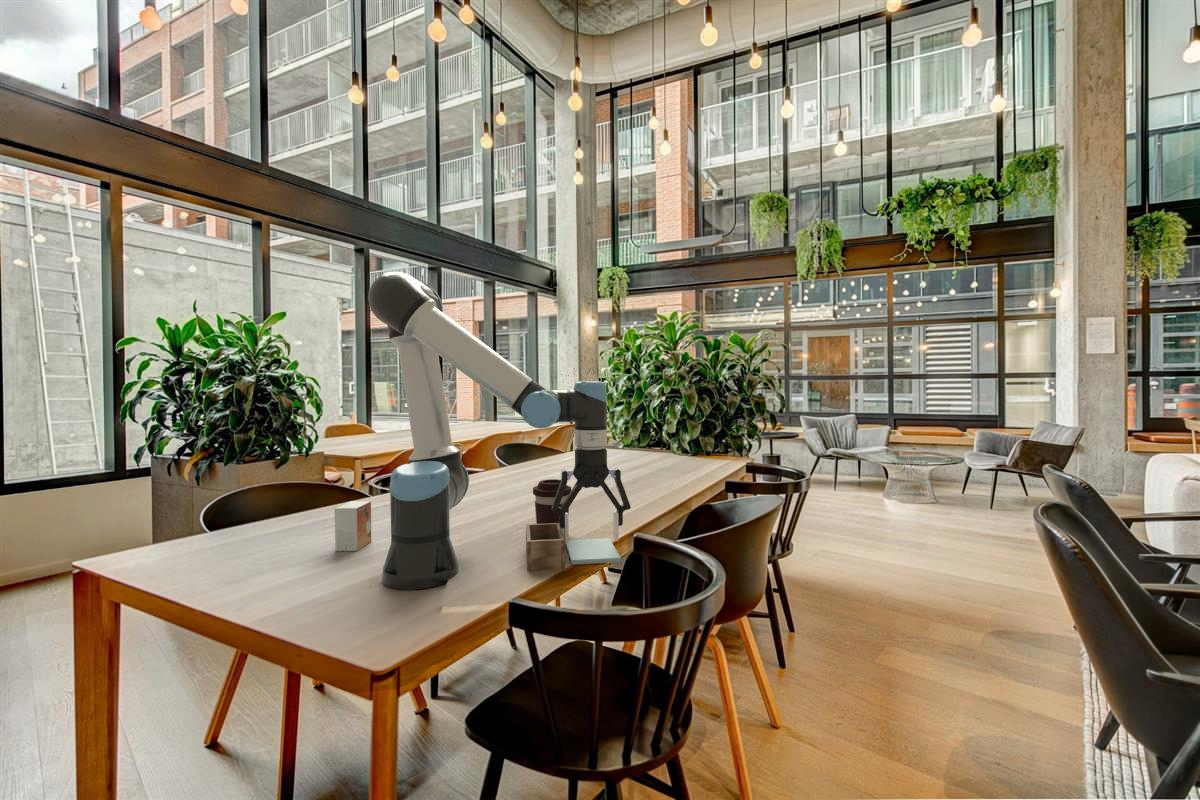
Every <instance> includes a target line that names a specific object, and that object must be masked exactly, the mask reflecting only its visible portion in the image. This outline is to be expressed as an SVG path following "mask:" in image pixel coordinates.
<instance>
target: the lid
mask: <svg viewBox="0 0 1200 800" xmlns="http://www.w3.org/2000/svg"><path fill="white" fill-rule="evenodd" d="M565 549H566V551H567V554H568V557H569V561H570V564H571V565H589V564H591V565H592V564H606V563H608V564H609V563H621V562H622V561H621V560H622V558H621V555H620V554H619V552H618V550H617V549H616V546H614V544H613V542H612V541H611V539H610V538H609V537H607V538H604V537H603V538H587V539H585V538H582V539H569V543H566V544H565Z"/></svg>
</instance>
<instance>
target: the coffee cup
mask: <svg viewBox="0 0 1200 800" xmlns="http://www.w3.org/2000/svg"><path fill="white" fill-rule="evenodd" d="M560 482H561V479H554V478H553V479H552V478H551V479H550V478H549V479H543V480H540V481H538V484H537V485H536V486H534V487H533V488H532V495H533V496H534V497H535V502H534V507H535V509H534V511H535V522H536V523H535V524H546V523H559V514H558V513H554V512H553V511H552V505H553V502H554V499H555V496H556V493H557V490H558V487H559V485H560ZM571 490H572V487H571V486H570V485H566V488H565V490H564V493H563V496H562V499H561V502H560V505H559V507H561V506H562V504H563V503H564V501H565V500H566V498H567V497H568V495H569V493H570V492H571ZM569 510H570V507H569V508H568V510H567V511H566V513H568V516H569V512H570V511H569ZM561 529H562V533H563V536H564V528H561Z"/></svg>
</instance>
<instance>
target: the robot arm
mask: <svg viewBox="0 0 1200 800" xmlns="http://www.w3.org/2000/svg"><path fill="white" fill-rule="evenodd" d="M367 298H368V304H369V308H370V310H371V312H372V314H373V315H374V317H376V318H377V319H378V320H379V321H380V322H382V323H383V324H385V325H387V332H388V337H389V342H390V343H392V344H393V345H394V346H396V348H397V349H398V354H399V355H398V356H399V362H400V368H401V375H402V380H403V381H402V383H403V389H404V393H405V401H406V406H407V407H406V408H407V412H408V420H409V426H410V432H411V438H412V444H413V445H412V446H413V451H412V453H411V454H410V456H409V457H408V463H403V464H401V465H399V466H397V467H396V468H394V470H392V472H391V475H390V482H389V497H390V498H389V499H390V503H389V504H390V534H391V535H390V536H391V537H390V546H389V549H388V551H387V552H388V553H387V555H386V558H385V561H384V564H383V567H382V573H381V574H382V584H384V585H385V586H387V587H388V588H392V589H396V590H405V591H407V590H410V591H411V590H422V589H423V590H424V589H429V588H433V587H439V586H441V585H444V584H447V583H448V581H449V580H450V579H453V578H454V577H455V576H456V575H457V574H458V572H459V561H458V558H457V555H456V551H455V549H454V546H453V543H452V541H451V540H452V539H451V536H450V535H451V534H450V510H452V508H454V507H456V506H457V505H459V503H460V502H462V500H463V499H464V497H465V496H466V494H467V491H468V489H469V485H470V477H469V473H468V470H467V468H466V467H465V465H464V464H463V461H462V457H461V451H460V448H458V447H457V446H455V445H454V444H453V442H452V434H451V428H450V422H449V414H448V409H447V402H446V396H445V395H446V394H445V389H444V383H443V378H442V376H443V375H442V370H441V364H440V357H441V358H442V359H444V361H446V362H448V363H449V364H450V365H451V366H453V367H455V368H456V370H458V371H460V372H461V373H462V374H464V375H465V376H467V377H468V378H469V379H471V380H472V381H473V382H475V383H476V384H477V385H479V386H480V387H482V388H483V389H484V390H486V391H487V392H488V393H489V394H491V395H493V396H494V397H496V398H497V399H498V400H500V402H502V403H504V404H505V405H506V406H507V407H509V408H511V409H512V410H513V411H514V412H515V413H517V415H520V417H522V419H523V421H525V423H526V424H528V425H529V426H531V427H532V428H535V429H546V428H550V427H551V426H553V425H554V424H556V423H574V446H575V447H576V448H575V449H574V468H573V469H571V470H566V469H562V470H561V472H560V473H561V477H560V478H561V479H560V480H561V482H560V485H559V487H558V490H557V493H556V496H555V499H554V502H553V505H552V511H553V512H554V513H558V514H559V525H560V528H564V539H565V544H566V543H569V540H570V539H569V538H570V537H569V515H568V513H566V511H567V510H568V508H569V509H570V507H571V505H572V503H573V502H574V501H575V499H576V497H577V495H578V494H579V493H580V491H581V490H582V488H585V489H589V488H594V489H596V488H599V487H601V488H602V490H603V492H604V493H605V494H606V496H607V497H608V498H609V500H610V501H611V503H612V504H613V506H614V507H615V509H616V510H613V513H612V514H613V515H612V517H613V518H612V519H613V520H612V522H613V523H612V527H613V529H612V531H613V532H612V533H613V540H614V541H615V542H618V541H619V536H620V535H619V531H620V530H619V527H621V526H623V523H624V512H625V511H628V510H630V509H631V504H630V500H629V498H628V495H627V493H626V490H625V487H624V484H623V481H622V479H621V476H622V473H621V470H620V469H619V468H618V467H615V468H610V469H609V467H608V449H607V448H606V447H607V445H608V437H607V435H608V434H607V433H608V432H607V431H608V429H607V428H608V425H607V423H608V422H607V421H608V416H607V415H608V398H607V385H606V383H604V382H603V381H576V382H575V383H574V386H573V389H567V390H566V389H547V388H545V387H544V386H542V385H541V384H539V383H538V382H537V381H535V380H534V379H532V378H531V377H530V376H529V375H527V374H526V373H524V371H522V370H520V369H519V368H517V367H516V366H515V365H514V364H512V363H511V362H509V361H508V360H507V359H505V357H503V356H501V355H500V354H499V353H497V352H496V351H495V350H494V349H492V348H491V347H489V346H488V345H487V344H485V343H484V342H483V341H482V340H480V339H479V338H477V337H476V336H475V335H473V334H471V332H469V331H468V330H466V329H465V328H464V327H463V326H461V325H459V324H458V323H457V322H456V321H454V320H453V319H452V318H450V317H449V316H448V315H446V314H445V313H444V307H443V303H442V299H441V298H440V296H439V294H438V293H437V292H436V291H435V290H434V288H432V287H431V286H430V285H428V283H426V282H423V281H420V280H418V279H416V278H415V277H413V276H412V275H409V274H408V273H404V272H399V271H393V272H391V271H390V272H386V273H384V274H381V275H380V276H379V277H377V278H376V279H375V280H374V281H373V282H372V284H371V285H370V288H369V290H368V296H367ZM609 475H610V477H611V478H612V479H613V480H614V482H615V486H616V488H617V492H618V493H619V497H620V500H621V502H622V504H620V502H619V501H618V500H617V498H616V497H615V495H614V493H613V492H612V490H611V488H609V486H608V484H607V483H606V482H605V480H606V479H607V478H608V477H609ZM571 477H574V479H575V480H576V482H575V483H574V485H573V487H572V488H571V492H570V493H569V495H568V497H567V498H566V500H565V501H564V503H563V504H562V506H561V507H559V505H560V502H561V499H562V496H563V493H564V490H565V488H566V485H567V484H568V481H569V480H570V479H571ZM567 486H568V485H567Z"/></svg>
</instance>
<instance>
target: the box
mask: <svg viewBox="0 0 1200 800" xmlns="http://www.w3.org/2000/svg"><path fill="white" fill-rule="evenodd" d="M539 539H549V540H539ZM565 549H566V545H565V539H564V536H563V533H562V529H561V528H560V525H559V523H546V524H537V523H526V524H525V555H526V559H525V560H526V569H527V570H526V571H529V572H530V571H549V570H550V571H551V570H564V569H566V564H565V563H566V555H565V554H566V550H565Z"/></svg>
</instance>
